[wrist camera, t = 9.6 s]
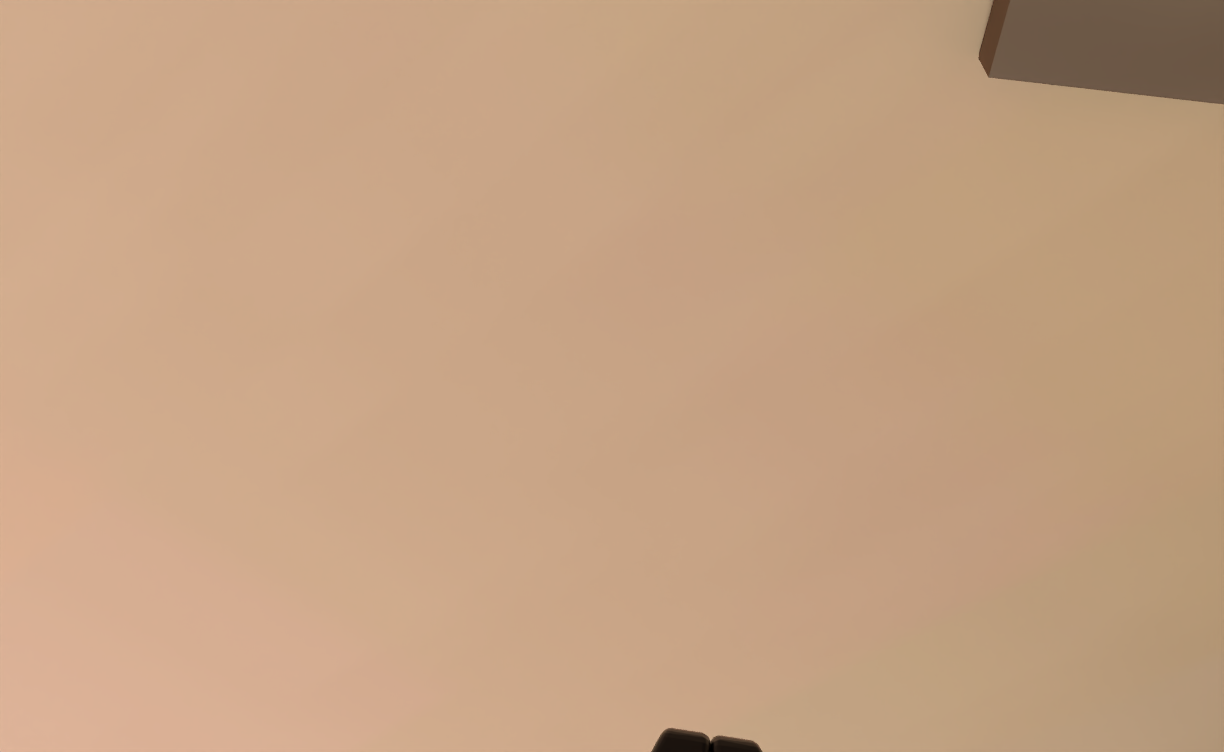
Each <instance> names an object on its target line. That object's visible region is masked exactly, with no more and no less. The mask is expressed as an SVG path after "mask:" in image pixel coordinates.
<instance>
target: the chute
mask: <svg viewBox="0 0 1224 752" xmlns="http://www.w3.org/2000/svg"><path fill="white" fill-rule="evenodd" d="M979 60H980V62H981V64H982V66H983V68H984V70H985V72H986V73H987V75H988V77H990V78H998V79H1007V80H1016V81H1025V82H1033V83H1042V84H1051V85H1060V86H1068V87H1077V88H1086V89H1095V90H1103V91H1112V92H1121V93H1129V94H1138V95H1147V96H1156V97H1164V98H1173V99H1182V100H1191V101H1199V102H1208V103H1217V104H1224V0H994V3H993V6H992V10H991V14H990V17H989V21H988V25H987V28H986V32H985V36H984V39H983V43H982V47H981V50H980V54H979Z"/></svg>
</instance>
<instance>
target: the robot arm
mask: <svg viewBox="0 0 1224 752" xmlns="http://www.w3.org/2000/svg"><path fill="white" fill-rule="evenodd" d="M652 752H762V750H761V748H760V747H759V745H758V744H757V743H755V742H754V741H751V740H745V739H739V738H732V737H726V736H716V737H713V739H712V740H711V742H710V740H709V737H708V736H707V735H705V734H704V733H700V732H694V731H687V730H681V729H674V728H668V729H666V730H665V731H664V732H663V733H662V734H661V735H660V737H659V739H658V741H657V742H656V744H655V746H654V748H653V750H652Z"/></svg>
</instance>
